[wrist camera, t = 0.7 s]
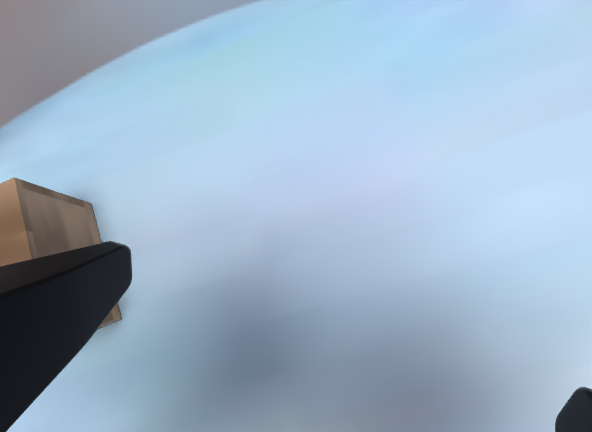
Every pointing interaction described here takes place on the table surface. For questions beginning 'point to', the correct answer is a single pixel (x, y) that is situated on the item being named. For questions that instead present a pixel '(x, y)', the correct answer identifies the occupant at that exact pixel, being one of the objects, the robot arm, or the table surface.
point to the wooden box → (44, 225)
